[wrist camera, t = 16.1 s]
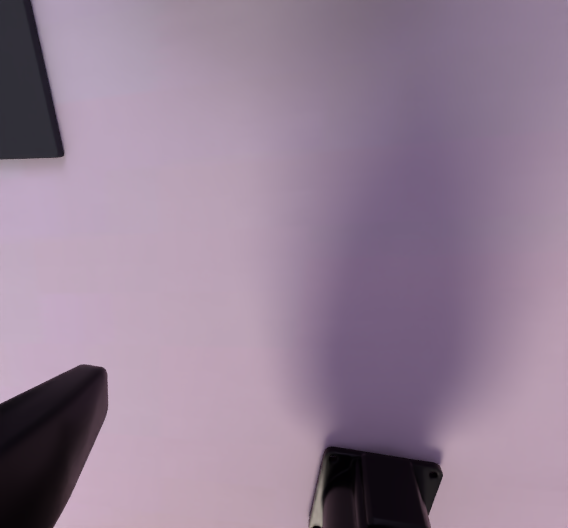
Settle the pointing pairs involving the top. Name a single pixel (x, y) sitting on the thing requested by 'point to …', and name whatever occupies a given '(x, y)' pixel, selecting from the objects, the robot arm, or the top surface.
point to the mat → (24, 88)
